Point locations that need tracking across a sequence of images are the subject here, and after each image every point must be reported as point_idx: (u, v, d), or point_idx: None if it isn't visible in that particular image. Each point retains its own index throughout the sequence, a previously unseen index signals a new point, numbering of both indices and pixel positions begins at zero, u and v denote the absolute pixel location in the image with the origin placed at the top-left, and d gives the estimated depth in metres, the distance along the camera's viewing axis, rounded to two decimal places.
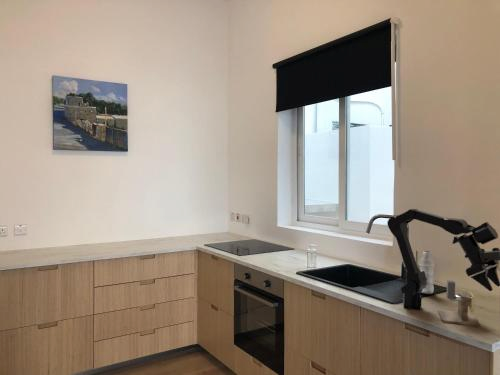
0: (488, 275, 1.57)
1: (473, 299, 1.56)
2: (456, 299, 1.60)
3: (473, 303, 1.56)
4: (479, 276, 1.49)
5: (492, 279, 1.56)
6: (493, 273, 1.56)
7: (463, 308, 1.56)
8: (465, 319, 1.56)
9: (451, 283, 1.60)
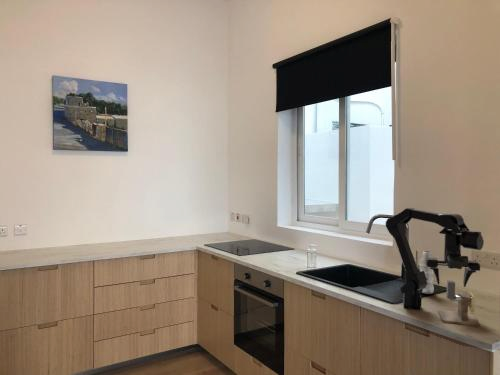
0: (464, 273, 1.61)
1: (473, 299, 1.56)
2: (456, 299, 1.60)
3: (473, 303, 1.56)
4: None
5: (464, 278, 1.60)
6: (465, 274, 1.59)
7: (463, 308, 1.56)
8: (465, 319, 1.56)
9: (451, 283, 1.60)
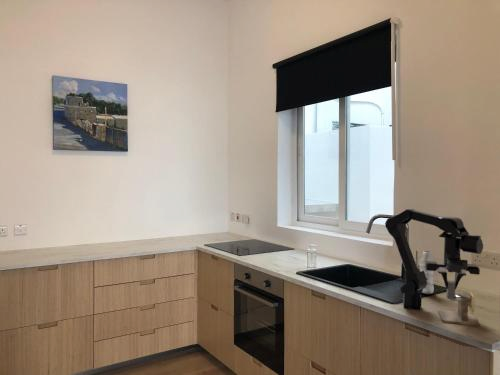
0: (455, 276, 1.62)
1: (473, 299, 1.56)
2: (456, 299, 1.60)
3: (473, 303, 1.56)
4: None
5: (454, 281, 1.61)
6: (456, 277, 1.60)
7: (463, 308, 1.56)
8: (465, 319, 1.56)
9: (451, 283, 1.60)
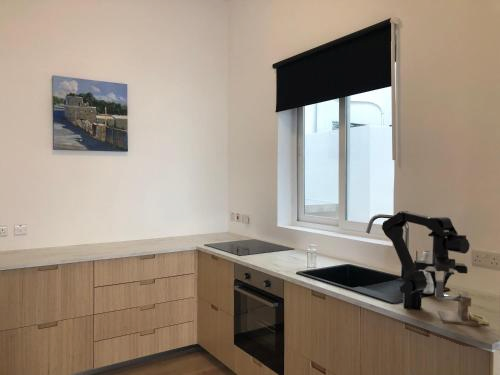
0: None
1: (484, 322, 1.55)
2: (444, 298, 1.61)
3: (480, 321, 1.56)
4: None
5: (443, 280, 1.63)
6: (444, 276, 1.61)
7: (463, 308, 1.56)
8: (465, 319, 1.56)
9: (439, 282, 1.61)
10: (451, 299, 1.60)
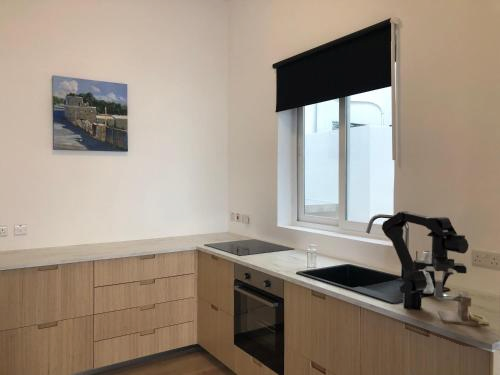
0: (443, 275, 1.63)
1: (484, 322, 1.55)
2: (443, 298, 1.61)
3: (480, 321, 1.56)
4: None
5: (442, 280, 1.63)
6: (443, 276, 1.61)
7: (463, 308, 1.56)
8: (465, 319, 1.56)
9: (438, 282, 1.61)
10: (450, 299, 1.60)
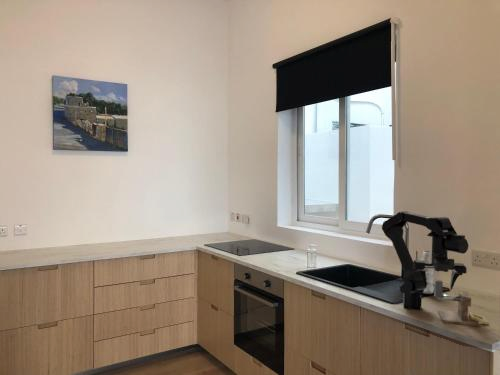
0: (451, 276, 1.62)
1: (484, 322, 1.55)
2: (443, 298, 1.61)
3: (480, 321, 1.56)
4: None
5: (451, 281, 1.62)
6: (452, 277, 1.60)
7: (463, 308, 1.56)
8: (465, 319, 1.56)
9: (438, 282, 1.61)
10: (450, 299, 1.60)
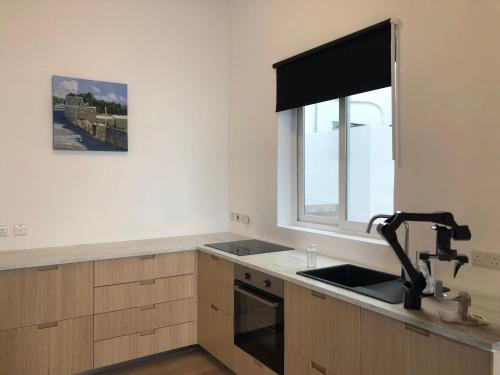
0: (454, 266, 1.73)
1: (484, 322, 1.55)
2: (443, 298, 1.61)
3: (480, 321, 1.56)
4: None
5: (454, 270, 1.73)
6: (455, 267, 1.72)
7: (463, 308, 1.56)
8: (465, 319, 1.56)
9: (438, 282, 1.61)
10: (450, 299, 1.60)
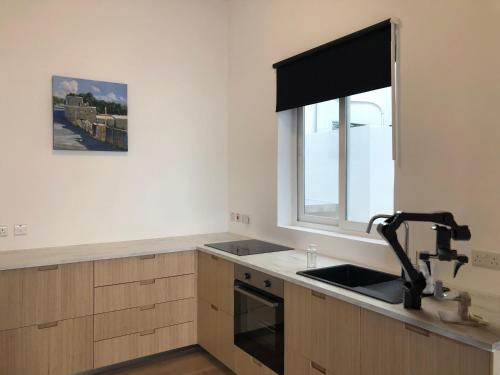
0: (454, 266, 1.73)
1: (484, 322, 1.55)
2: (443, 298, 1.61)
3: (480, 321, 1.56)
4: None
5: None
6: (455, 267, 1.72)
7: (463, 308, 1.56)
8: (465, 319, 1.56)
9: (438, 282, 1.61)
10: (450, 299, 1.60)
